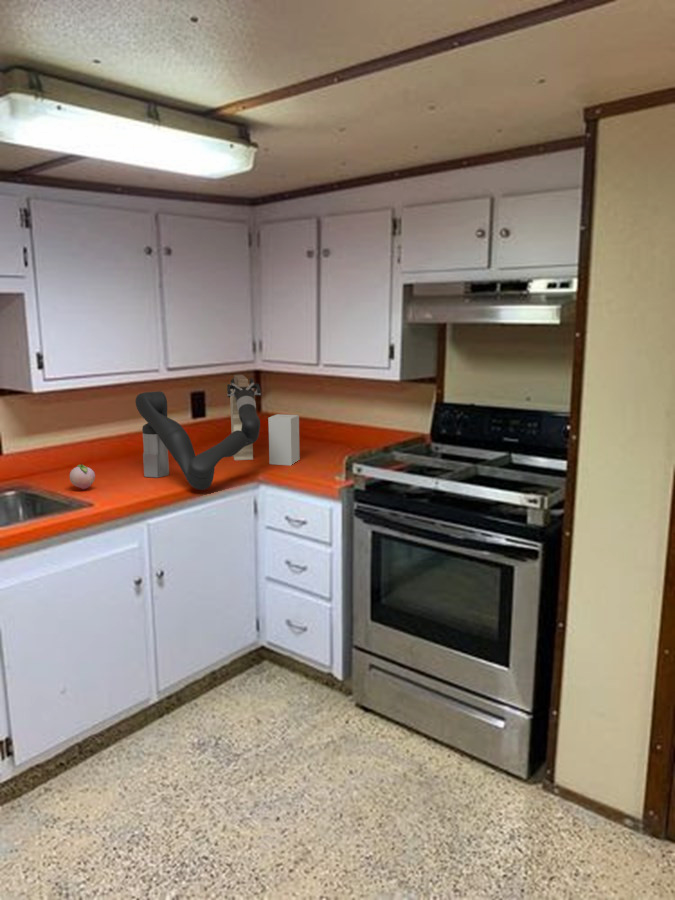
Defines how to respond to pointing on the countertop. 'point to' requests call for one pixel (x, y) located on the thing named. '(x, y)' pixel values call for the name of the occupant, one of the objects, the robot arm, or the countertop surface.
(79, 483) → the decorative fruit
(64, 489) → the countertop surface
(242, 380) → the long wooden bar
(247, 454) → the tall stand
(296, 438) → the short block
